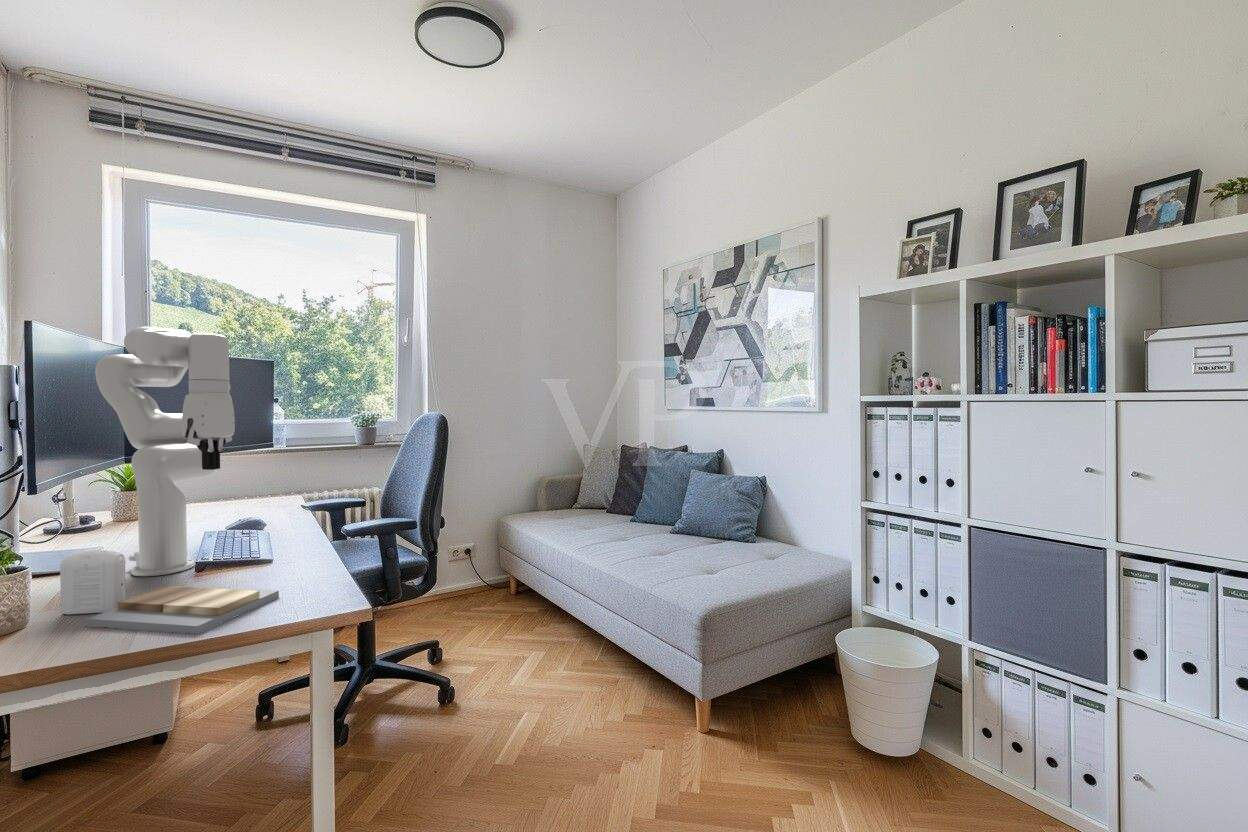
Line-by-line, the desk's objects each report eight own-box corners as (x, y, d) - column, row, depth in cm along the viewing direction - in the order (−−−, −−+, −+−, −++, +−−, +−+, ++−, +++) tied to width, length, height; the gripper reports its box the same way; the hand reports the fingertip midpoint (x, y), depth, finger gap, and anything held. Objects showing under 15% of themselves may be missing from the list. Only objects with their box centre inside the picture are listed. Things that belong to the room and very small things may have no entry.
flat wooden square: (117, 609, 114) (117, 601, 114) (165, 592, 124) (165, 585, 124) (161, 612, 113) (161, 604, 112) (206, 595, 122) (206, 588, 122)
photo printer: (130, 605, 121) (128, 546, 120) (117, 612, 116) (115, 551, 116) (71, 609, 118) (70, 549, 118) (56, 617, 114) (54, 555, 114)
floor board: (86, 626, 109) (86, 618, 109) (182, 591, 129) (182, 585, 129) (197, 634, 106) (197, 626, 106) (278, 597, 125) (278, 590, 125)
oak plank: (162, 612, 112) (162, 604, 112) (207, 595, 122) (207, 588, 122) (219, 615, 111) (218, 607, 111) (259, 597, 120) (259, 590, 120)
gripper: (222, 389, 139) (224, 465, 140) (164, 387, 124) (166, 473, 125) (250, 389, 138) (251, 465, 138) (194, 387, 123) (196, 473, 124)
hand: (211, 469), depth 132 cm, fingers closed
